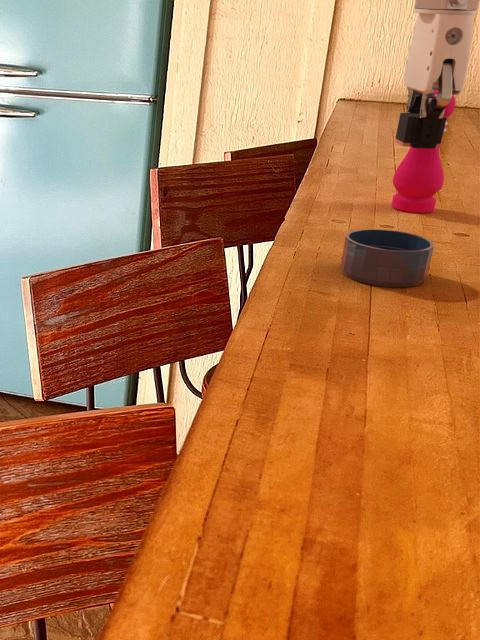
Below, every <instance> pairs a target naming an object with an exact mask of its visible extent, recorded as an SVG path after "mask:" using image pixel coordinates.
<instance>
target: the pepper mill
mask: <svg viewBox="0 0 480 640" xmlns="http://www.w3.org/2000/svg"><path fill="white" fill-rule="evenodd" d="M438 92H439V90H434V92H433V93H437V94H438ZM432 99H436V98H432ZM455 109H456V98H455V95H453V94H452V100H451V101H450V102H449V103H448V104H447V106H446V107H445V111H444V116H443V117H446V120H447V119H448V118H450V116H451V115H452V114H454V112H455ZM448 124H449V123H448V121H446V123H445V128H444V132H443V133H446V131H447V130H448V129H447V126H448ZM408 148H409V149H408V151H407V153H406V155H405V156H404V158H403V159H402V160H401V162H400V163H399V164H398V166H397V168H396V170H395V171H394V174H393V176H392V185H393V187H394V188H395V190H396V191H397V192H396V193H395V194H394V195H392V199H391V204H390V205H391V207H392V208H393V209H394V210H397V211H400V212H405V213H412V214H429V213H432V212H434V211H435V208H436V203H437V199H436V198H435V197H434V196H435V195H436V194H437V193H438V192H440V191H441V189H442V188H443V186H444V179H445V176H444V175H445V174H444V168H443V164H442V161H441V157H440V148H434V149H428V148H413V147H408Z"/></svg>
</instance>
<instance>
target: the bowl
mask: <svg viewBox="0 0 480 640" xmlns="http://www.w3.org/2000/svg"><path fill="white" fill-rule="evenodd" d="M434 248H435V243H434V242H433V241H432V240H431V239H429V238H426V237H424V236H421V235H418V234H414V233H411V232H405V231H400V230H395V229H394V230H393V229H381V228H362V229H356V230H351V231H349V232H347V233H346V234H345V238H344V244H343V249H342V255H341V261H340V262H341V263H340V269H341V270H342V272H343V274H344V275H345V276H346V277H348V278H349V279H352V280H353V281H356V282H358V283H363V284H366V285H371V286H376V287H384V288H385V287H386V288H410V287H415V286H418V285H419V286H420V284H422V283H423V281H424V280H426V279H428V277H429V276H428V275H429V270H430V267H431V261H432V256H433V253H434Z"/></svg>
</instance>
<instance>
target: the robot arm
mask: <svg viewBox="0 0 480 640" xmlns="http://www.w3.org/2000/svg"><path fill="white" fill-rule="evenodd" d="M479 5H480V0H415V2H414V6H413V14H414V13H415V14H417V18H416V20H415V24H414V28H413V32H412V36H411V39H410V44H409V47H408V53H407V58H406V62H405V69H404V74H403V84H404V85H405V86H406V89H407V92H408V94H407V102H406V105H405V113H420V117H416V120H415V125H414V130H413V135H412V140H411V147H413V148H428V149H434V148H435V147H436V145H437V140H438V135H439V131H440V126H441V121H442V118H443V116H444V111H445V107H446V106H447V104H448V103H449V102H450V101H451V100H452V94H453V95H454V96H458V95H460V94H462V93H463V92H464V89H465V85H466V80H467V75H468V69H469V62H470V57H471V50H472V43H473V35H474V25H475V24H474V23H475V22H474V21H475V15H478V14H477V13H478V8H479ZM434 90H439V92H438V94H437V93H433V92H434ZM432 98H436V99H432Z"/></svg>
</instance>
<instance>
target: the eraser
mask: <svg viewBox="0 0 480 640" xmlns="http://www.w3.org/2000/svg"><path fill="white" fill-rule="evenodd" d="M416 117H420V113H410V112H400V115H399V118H398V123H397V124H398V125H397V128H396V133H395V139H394V143H396V145H397V144H398V145H400V146H401V147H403V148H404V147H408V148H410V147H411V140H412V135H413V130H414V125H415V120H416ZM446 122H447V119H446V117H443V118H442V121H441V126H440V131H439V135H438V140H437V145H436V147H435V148H439V149H440V148H441V145H442V142H443V141H442V140H443V135H444V133H445V132H444V128H445V123H446Z"/></svg>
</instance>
